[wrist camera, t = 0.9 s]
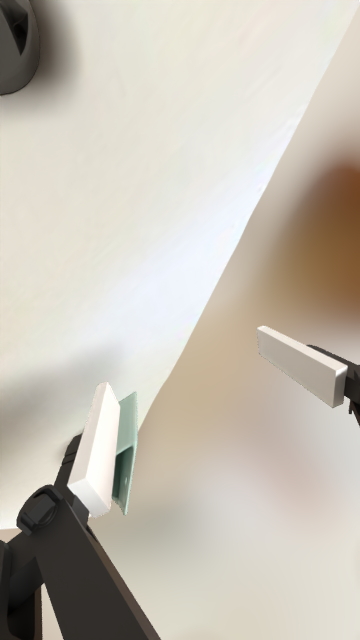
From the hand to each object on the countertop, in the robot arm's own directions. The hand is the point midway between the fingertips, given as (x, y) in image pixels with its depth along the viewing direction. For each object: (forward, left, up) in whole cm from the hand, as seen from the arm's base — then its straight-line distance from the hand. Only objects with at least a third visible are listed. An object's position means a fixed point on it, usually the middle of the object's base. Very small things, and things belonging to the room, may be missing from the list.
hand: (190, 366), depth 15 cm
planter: (+23, -23, -27) cm, 42 cm away
